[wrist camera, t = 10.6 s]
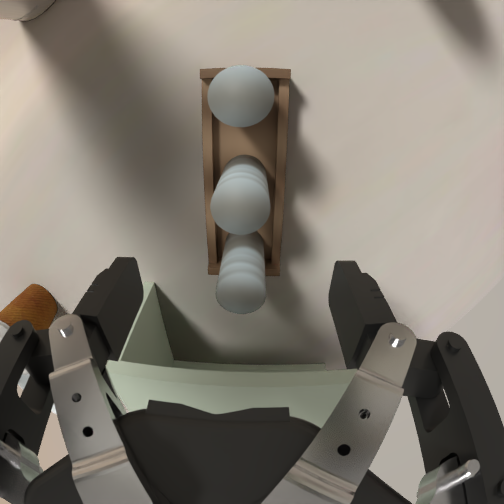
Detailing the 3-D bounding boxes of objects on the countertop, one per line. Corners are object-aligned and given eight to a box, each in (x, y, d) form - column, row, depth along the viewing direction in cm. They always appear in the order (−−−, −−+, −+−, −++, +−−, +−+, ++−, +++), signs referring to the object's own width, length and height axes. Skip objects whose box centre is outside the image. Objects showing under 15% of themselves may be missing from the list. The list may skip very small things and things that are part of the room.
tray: (206, 72, 21) (180, 59, 13) (286, 72, 21) (303, 58, 13) (212, 258, 31) (198, 317, 23) (277, 259, 31) (284, 319, 23)
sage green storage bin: (145, 281, 32) (103, 371, 21) (346, 286, 32) (381, 379, 21) (167, 364, 41) (149, 439, 29) (323, 367, 40) (336, 445, 29)
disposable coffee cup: (53, 277, 33) (9, 335, 22) (73, 326, 38) (42, 384, 27) (14, 272, 33) (-28, 320, 22) (34, 317, 37) (2, 366, 27)
